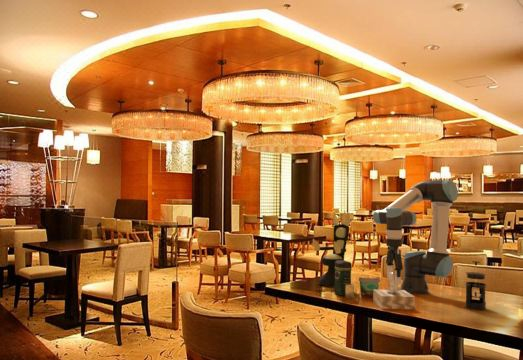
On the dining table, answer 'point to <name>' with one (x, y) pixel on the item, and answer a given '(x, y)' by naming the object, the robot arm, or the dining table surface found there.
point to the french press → (471, 302)
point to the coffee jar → (342, 276)
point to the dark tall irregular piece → (334, 249)
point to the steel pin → (392, 284)
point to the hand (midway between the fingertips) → (393, 281)
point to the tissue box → (393, 299)
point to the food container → (368, 286)
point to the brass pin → (349, 291)
